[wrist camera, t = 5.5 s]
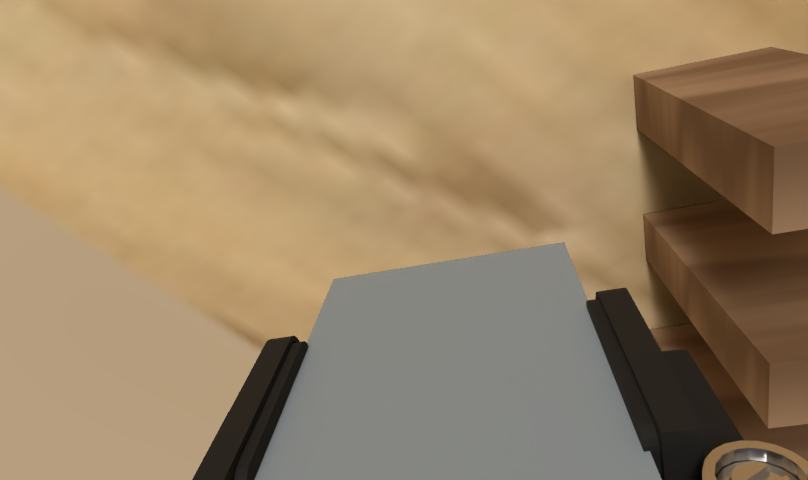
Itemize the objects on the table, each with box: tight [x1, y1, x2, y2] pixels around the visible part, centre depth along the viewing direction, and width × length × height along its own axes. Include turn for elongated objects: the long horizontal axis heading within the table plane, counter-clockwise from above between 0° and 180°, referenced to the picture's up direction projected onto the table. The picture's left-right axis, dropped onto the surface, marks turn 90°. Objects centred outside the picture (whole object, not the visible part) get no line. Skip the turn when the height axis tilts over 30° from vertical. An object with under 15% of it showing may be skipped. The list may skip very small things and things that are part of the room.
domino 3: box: [650, 324, 808, 461], centre depth 25 cm, size 2×6×12 cm, turn 102°
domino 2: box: [643, 200, 808, 429], centre depth 23 cm, size 2×6×12 cm, turn 102°
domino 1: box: [634, 47, 808, 234], centre depth 20 cm, size 2×6×12 cm, turn 102°
